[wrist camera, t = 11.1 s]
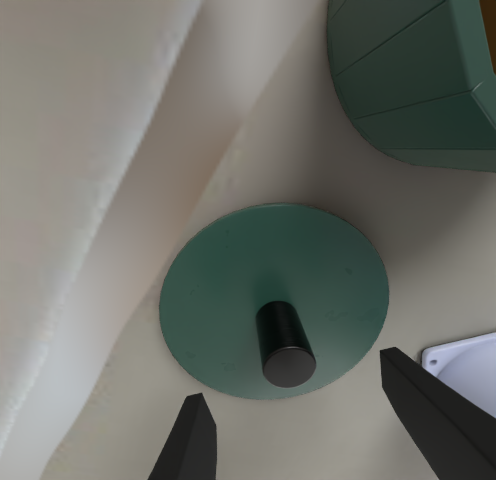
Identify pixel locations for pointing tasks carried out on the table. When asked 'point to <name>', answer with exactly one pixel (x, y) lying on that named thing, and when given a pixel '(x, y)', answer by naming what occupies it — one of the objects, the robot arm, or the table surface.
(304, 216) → the lid
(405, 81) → the pot
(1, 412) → the table surface
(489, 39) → the orange block with knob
